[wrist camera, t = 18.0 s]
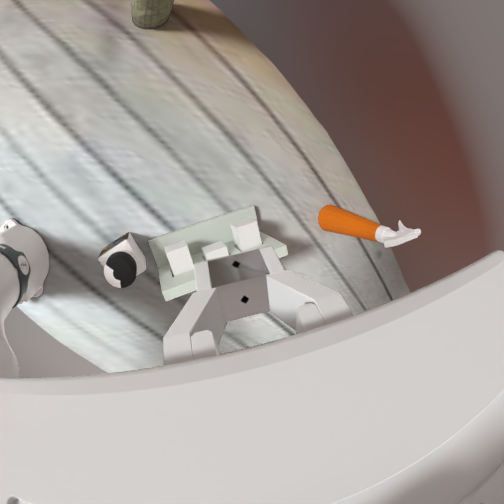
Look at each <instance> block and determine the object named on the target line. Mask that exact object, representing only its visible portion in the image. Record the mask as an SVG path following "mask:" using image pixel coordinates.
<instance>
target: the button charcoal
mask: <svg viewBox="0 0 504 504" xmlns="http://www.w3.org/2000/svg"><path fill="white" fill-rule="evenodd" d="M164 248H165V252H166V255H167V258H168V261H169V263H170V266H171V269H172V271H173V274H174V277H175V276H177V275H180V274H183V273H186V272H188V271H191V270H194V264H193V261H192V258H191V255H190V252H189V249H188V246H187V244H186V242H185V241H184V240H183V241H180V242H177V243H174V244H172V245H169V246H166V247H164Z"/></svg>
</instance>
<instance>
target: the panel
mask: <svg viewBox="0 0 504 504" xmlns="http://www.w3.org/2000/svg"><path fill="white" fill-rule="evenodd" d="M247 218H251V219H253V220H255V221H257V216H256V212H255V208H254V206H253V205H250V206H247V207H244V208H241V209H238V210H234V211H231V212H228V213H225V214H222V215H219V216H216V217H213V218H210V219H207V220H204V221H201V222H198V223H195V224H192V225H189V226H187V227H184V228H181V229H178V230H175V231H172V232H169V233H167V234H164V235H161V236H158V237H156V238H153V239H150V240H148V242H149V245H150V248H151V251H152V253H153V256H154V259H155V261H156V264H157V267H158V272H159V278H160V285H161V291H162V294H163V296H164V299H165V301H169V300H172V299H174V298H177V297H180V296H182V295H185V294H188V293H190V292H193V291H196V290H197V289H196V280H195V271H194V270H191V271H188V272H186V273H183V274H180V275H177V276H175V277H174V274H173V271H172V269H171V266H170V263H169V261H168V258H167V255H166V252H165V248H164V247H166V246H169V245H172V244H174V243H177V242H180V241H183V240H184V241H185V242H186V244H187V246H188V249H189V252H190V255H191V258H192V261H193V264H194V263H197V262H201V261H205V258H204V255H203V251H202V247H205V246H208V245H210V244H213V243H216V242H219V241H221V242H223V243H224V244H225V245H226V246H227V250H228V253H229V255H234V254H238V253H243V252H247V251H251V250H255V249H258V248H261V247H265V246H269V245H271V246H272V247H273V249H274V250H275V252H276V254H277V256H278V258H281V257H284V256H286V255H288V251H287V246H286V245H285V244H283V243H281V242H280V241H278V240H276V239H274V238H272V237H270V236H268V235H266V234H264V233H263V232H261V231H260V229H259V225H258V221H257V225H258V229H259V233H260V238H261V242H262V245H259V246H256V247H254V248H251V249H248V250H245V251H243V252H241V251H240V250H238V249H237V248H236V244H235V241H234V237H233V233H232V229H231V226H230V224H232V223H234V222H237V221H240V220H243V219H247Z"/></svg>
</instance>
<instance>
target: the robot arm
mask: <svg viewBox="0 0 504 504" xmlns="http://www.w3.org/2000/svg"><path fill="white" fill-rule="evenodd" d="M7 225H8V227H9V228H7ZM48 270H49V254H48V250H47V247H46V245H45V243H44V241H43V239H42V238H41V237H40V235H39V234H38V233H37V232H35V231H34V230H33V229H31V228H29V227H26V226H22V225H20V224H19V223H18V222H17V221H16V220H14V219H13V218H10V219H9V220H7V221H6V222H5V223H4V224H3V225H2V226H1V227H0V504H504V251H500V250H497V251H494V252H492V253H490V254H489V255H487V256H485V257H484V258H482V259H480V260H478V261H476V262H475V263H472V264H471V265H469V266H467V267H465V268H463V269H461V270H459V271H457V272H455V273H453V274H451V275H449V276H447V277H445V278H443V279H440V280H439V281H436V282H434V283H432V284H430V285H428V286H425V287H423V288H421V289H419V290H416V291H414V292H412V293H409V294H407V295H405V296H402V297H400V298H397V299H395V300H393V301H390V302H388V303H385V304H383V305H380V306H378V307H375V308H372V309H370V310H367V311H364V312H362V313H359V314H356V315H353V314H352V312H351V310H350V309H349V307H348V306H347V304H346V303H345V301H344V300H343V298H342V297H341V295H340V293H338V292H335V291H333V290H331V289H329V288H327V287H325V286H323V285H321V284H318V283H316V282H314V281H312V280H310V279H308V278H306V277H304V276H301V275H299V274H297V273H295V272H293V271H291V270H285V269H284V267H283V266H282V264H281V262H280V260H279V258H278V256H277V254H276V252H275V250H274V249H273V247H272V246H271V245H269V246H265V247H261V248H258V249H255V250H251V251H247V252H243V253H238V254H234V255H229V256H224V257H219V258H215V259H210V260H208V261H207V260H206V261H201V262H197V263H194V271H195V280H196V289H197V292H194V293H193V294H192V295H191V297H190V298H189V300H188V301H187V303H186V304H185V306H184V307H183V309H182V310H181V312H180V313H179V315H178V316H177V318H176V319H175V321H174V322H173V324H172V325H171V327H170V328H169V330H168V331H167V333H166V334H165V336H164V338H163V353H164V366H158V367H152V368H146V369H139V370H131V371H124V372H116V373H107V374H97V375H86V376H73V377H55V378H20V371H19V365H18V361H17V358H16V356H15V354H14V352H13V351H12V349H11V347H10V346H9V343H8V341H7V338H6V335H5V331H4V321H5V318H6V317H7V315H8V313H9V311H10V310H11V309H12V308H14V307H15V306H16V305H18V304H21V303H23V301H25V302H27V301H28V300H29V299H30V298H32V297H39V296H40V295H42V293H43V283H44V280H45V278H46V276H47V274H48ZM268 311H270V312H271V313H272V314H274V315H275V316H276V317H278V318H279V319H280V320H282V321H283V322H284V323H286V324H287V325H289V326H290V327H291V328H293V329H294V330H295V331H296V335H293V336H289V337H286V338H282V339H279V340H275V341H272V342H268V343H264V344H261V345H257V346H253V347H249V348H245V349H241V350H237V351H233V352H228V353H224V354H220V352H219V349H218V347H217V346H218V344H219V341H220V339H221V336H222V334H223V331H224V329H225V326H226V324H227V322H228V321H232V320H236V319H239V318H243V317H246V316H251V315H255V314H259V313H263V312H268Z"/></svg>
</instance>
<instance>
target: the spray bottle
mask: <svg viewBox="0 0 504 504" xmlns="http://www.w3.org/2000/svg"><path fill="white" fill-rule="evenodd" d="M318 219H319V224H320V227H321V228H322V229H323V230H325V231H330V232H335V233H340V234H344V235H349V236H354V237H359V238H363V239H368V240H372V241H377V242H381V243H384V246H385V248H386V247H392V246H396V245H400V244H402V243H404V242H406V241H409V240H412V239H414V238H418V236H419V235H420V234H421V230H420V229H415V230H413V229H408V228H406V227H405V226H404V225H403V224H402V223H401V221H400V220H399V223H398V225H399V231H397V232H395V231H393V230H391V229H390V228H388V227H385V226H382V225H380V224H378V223H375V222H373V221H371V220H368V219H366V218H364V217H361V216H359V215H356V214H354V213H351V212H349V211H346V210H344V209H341V208H339V207H336V206H333V205H326V206H325V207H324V208H322V210H321V211H320V213H319V217H318Z"/></svg>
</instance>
